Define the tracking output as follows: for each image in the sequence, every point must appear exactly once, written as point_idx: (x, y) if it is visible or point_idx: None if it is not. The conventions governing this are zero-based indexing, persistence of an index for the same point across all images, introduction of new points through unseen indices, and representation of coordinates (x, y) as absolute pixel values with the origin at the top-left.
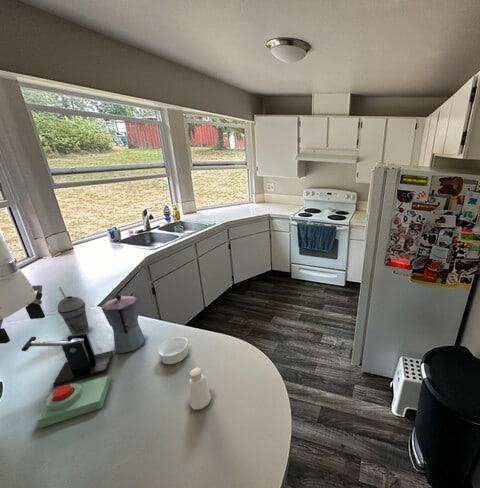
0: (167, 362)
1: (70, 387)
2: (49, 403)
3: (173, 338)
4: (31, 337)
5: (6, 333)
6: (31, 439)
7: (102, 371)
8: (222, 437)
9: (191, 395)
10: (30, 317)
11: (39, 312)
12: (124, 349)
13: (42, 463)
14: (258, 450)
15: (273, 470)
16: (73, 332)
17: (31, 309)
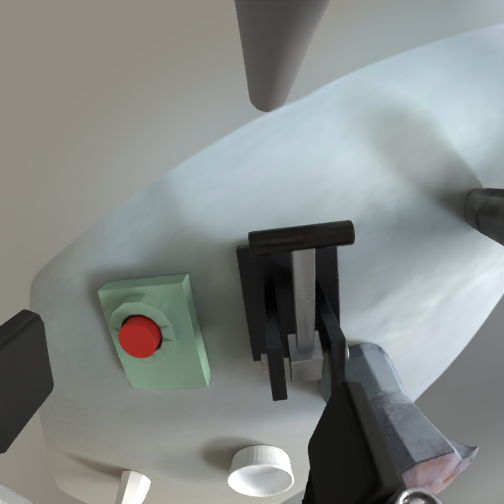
0: (233, 459)
1: (142, 357)
2: (116, 315)
3: (291, 479)
4: (348, 232)
5: (23, 424)
6: (87, 276)
7: (252, 353)
8: (88, 479)
9: (120, 490)
10: (337, 399)
11: (313, 489)
12: (322, 384)
13: (49, 317)
14: (78, 491)
15: (65, 490)
16: (476, 203)
17: (339, 493)
